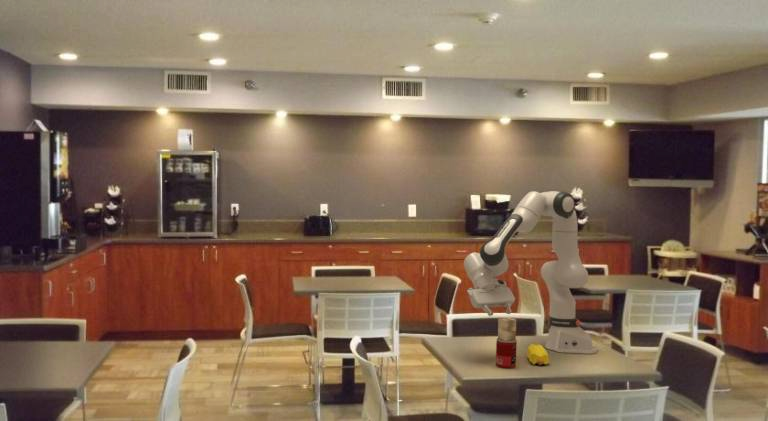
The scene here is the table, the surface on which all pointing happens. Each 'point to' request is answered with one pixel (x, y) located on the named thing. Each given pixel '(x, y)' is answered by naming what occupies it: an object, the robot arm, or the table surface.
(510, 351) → the canned food
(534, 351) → the yellow lumpy piece
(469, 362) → the table surface
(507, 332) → the beige cylinder
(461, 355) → the table surface
